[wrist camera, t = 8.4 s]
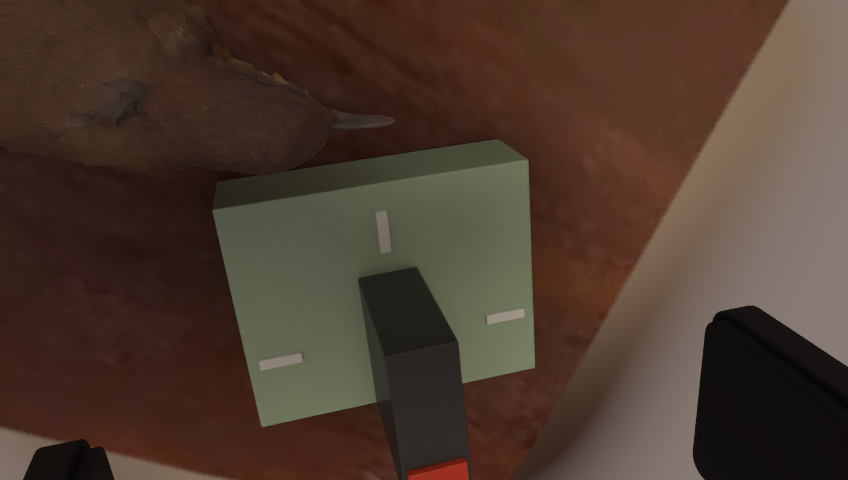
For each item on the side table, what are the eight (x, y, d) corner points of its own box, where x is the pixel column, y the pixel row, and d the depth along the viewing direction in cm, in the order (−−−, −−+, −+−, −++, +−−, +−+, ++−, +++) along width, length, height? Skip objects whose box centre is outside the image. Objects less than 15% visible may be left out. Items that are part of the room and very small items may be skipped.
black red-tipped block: (357, 277, 22) (386, 361, 17) (417, 265, 22) (461, 345, 18) (376, 403, 24) (407, 511, 19) (431, 391, 24) (475, 493, 19)
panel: (270, 424, 27) (272, 478, 24) (216, 181, 23) (211, 211, 20) (509, 372, 28) (538, 417, 26) (498, 138, 25) (530, 160, 22)
